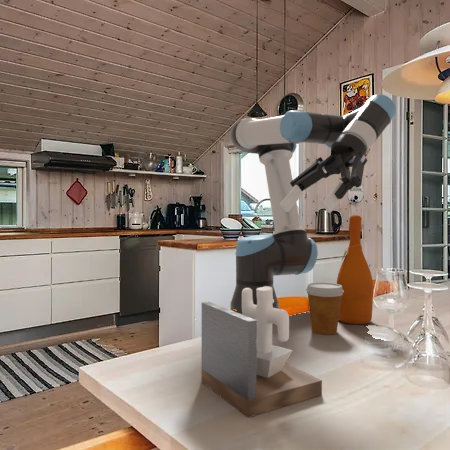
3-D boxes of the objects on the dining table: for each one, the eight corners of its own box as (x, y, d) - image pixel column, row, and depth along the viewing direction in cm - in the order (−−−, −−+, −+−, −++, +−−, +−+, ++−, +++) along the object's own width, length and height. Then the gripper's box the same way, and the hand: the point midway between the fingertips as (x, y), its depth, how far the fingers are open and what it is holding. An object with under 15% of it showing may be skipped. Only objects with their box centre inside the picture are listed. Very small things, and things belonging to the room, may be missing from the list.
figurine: (275, 384, 69) (276, 293, 68) (230, 370, 75) (231, 287, 74) (297, 371, 74) (298, 287, 74) (254, 359, 80) (255, 281, 80)
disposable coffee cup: (351, 332, 107) (351, 286, 106) (325, 339, 101) (326, 290, 101) (323, 324, 115) (323, 281, 114) (297, 329, 109) (298, 284, 109)
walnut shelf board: (268, 366, 83) (268, 354, 83) (321, 395, 70) (321, 380, 70) (201, 382, 76) (201, 368, 75) (248, 417, 63) (248, 400, 63)
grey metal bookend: (208, 366, 76) (208, 301, 76) (256, 398, 63) (256, 320, 63) (201, 368, 75) (201, 302, 75) (248, 400, 63) (248, 321, 62)
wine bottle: (352, 315, 125) (353, 215, 124) (380, 322, 117) (381, 215, 116) (328, 319, 120) (330, 215, 119) (355, 327, 112) (357, 215, 111)
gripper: (406, 150, 89) (356, 221, 82) (322, 162, 111) (277, 219, 103) (390, 122, 86) (337, 193, 79) (308, 140, 108) (260, 197, 100)
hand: (303, 208), depth 91 cm, fingers open, 13 cm apart
